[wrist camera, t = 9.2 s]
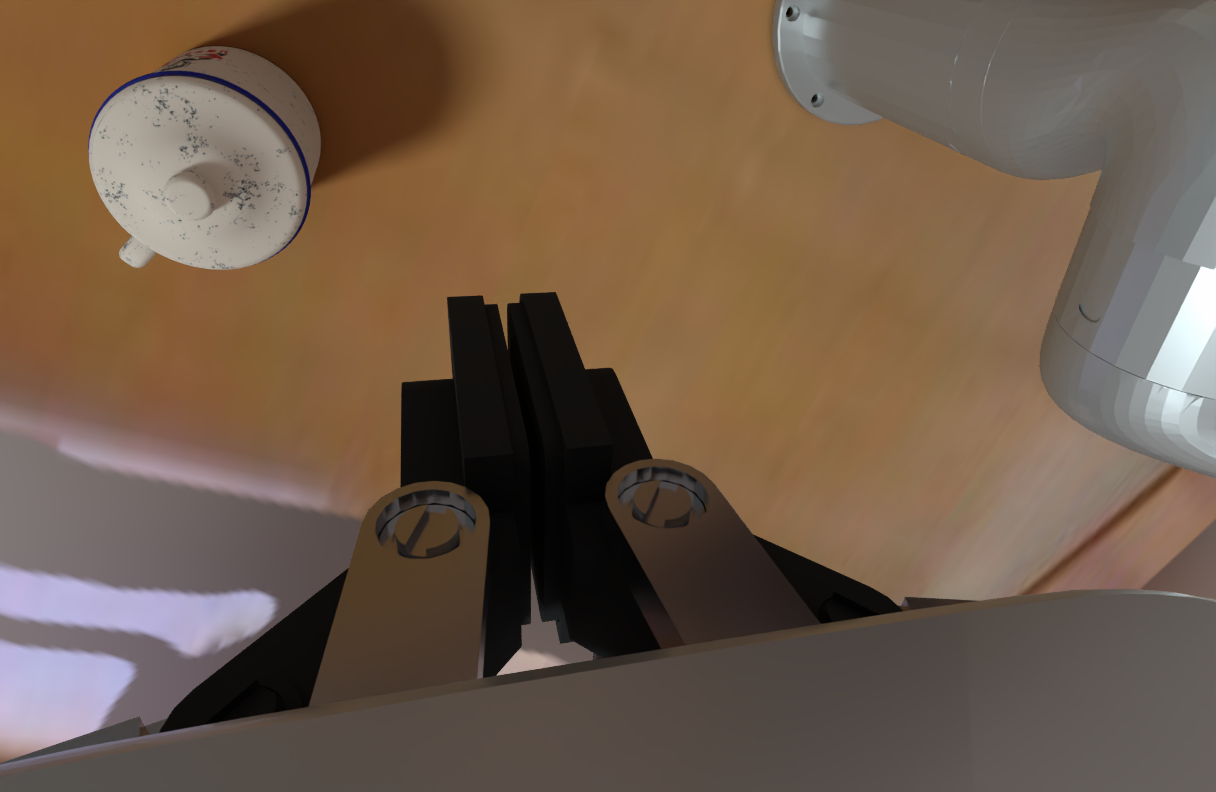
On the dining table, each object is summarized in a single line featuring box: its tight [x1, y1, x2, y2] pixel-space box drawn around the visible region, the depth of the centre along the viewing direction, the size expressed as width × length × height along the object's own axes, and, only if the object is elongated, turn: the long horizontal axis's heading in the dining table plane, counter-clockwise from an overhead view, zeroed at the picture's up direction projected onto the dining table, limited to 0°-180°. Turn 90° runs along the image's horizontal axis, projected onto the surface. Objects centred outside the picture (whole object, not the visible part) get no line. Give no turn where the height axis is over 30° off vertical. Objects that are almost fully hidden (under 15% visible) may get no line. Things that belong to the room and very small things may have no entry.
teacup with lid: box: [88, 46, 321, 270], centre depth 36 cm, size 12×9×12 cm
